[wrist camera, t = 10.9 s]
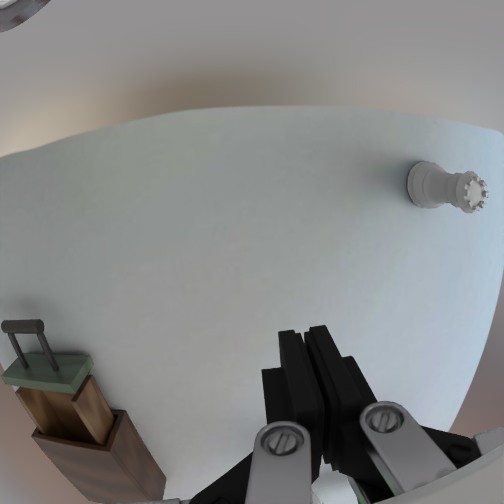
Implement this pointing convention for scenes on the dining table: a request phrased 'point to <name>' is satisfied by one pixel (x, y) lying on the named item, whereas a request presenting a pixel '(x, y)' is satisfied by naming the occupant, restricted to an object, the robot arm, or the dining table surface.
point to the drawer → (58, 390)
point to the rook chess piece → (445, 188)
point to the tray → (315, 499)
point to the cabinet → (108, 465)
